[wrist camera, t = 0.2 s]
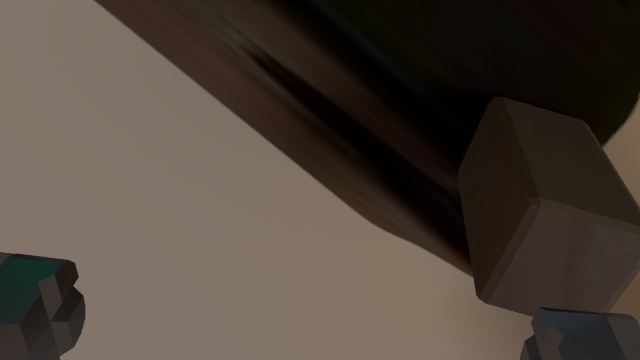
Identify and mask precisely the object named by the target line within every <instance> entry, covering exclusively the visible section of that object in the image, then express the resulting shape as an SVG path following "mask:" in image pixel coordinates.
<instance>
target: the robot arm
mask: <svg viewBox="0 0 640 360" xmlns="http://www.w3.org/2000/svg"><path fill="white" fill-rule="evenodd" d="M78 277H79V276H78V272H77V269H76V265H75V263H74V262H72V261H69V260H64V259H56V258H48V257H40V256H32V255H24V254H11V253H3V252H0V360H60V357H59V356H61V355H62V354H64V353H65V352H67V351H69V350H70V349H72V348H73V347H74V346H75V344H76V342H77V340H78V338H79V336H80V335H81V331H82V328H83V324H84V321H85V302H84V297H83V295H82V294H81V293H80V292H79V291H78V290H77V289H76V288H75V287H74V286H73V285H74V284H75V282H76V280H77V279H78ZM531 324H532V327H533V331H534V335H533V336H532V337H530V338H529V339H527V340H525V342H524V345H523V349H522V352H521V357H520V360H640V326H639V324H638V322H637V320H636V319H635V318H634V317H633V316H631V315H627V314H616V313H604V312H600V313H597V312H590V311H580V310H569V309H558V308H547V307H539V308H538V310H537V311H536V312H535V314H534V317H533V319H532V322H531Z"/></svg>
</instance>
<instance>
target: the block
mask: <svg viewBox="0 0 640 360" xmlns="http://www.w3.org/2000/svg"><path fill="white" fill-rule="evenodd" d="M458 182H459V188H460V195H461V201H462V207H463V214H464V220H465V226H466V233H467V239H468V246H469V252H470V258H471V265H472V271H473V277H474V283H475V290H476V295H477V296H478V298H479V299H480V300H482V301H483V302H485V303H486V304H490V305H494V306H498V307H501V308H505V309H508V310H511V311H515V312H518V313H522V314H525V315H529V316H532V317H534V314H535V312H536V311H537V310H538V308H539V307H547V308H558V309H569V310H580V311H590V312H597V313H600V312H604V313H609V311H610V310H611V308H612V307H613V306H614V304H615V303H616V302H617V300H618V299H619V298H620V296H621V295H622V293H623V292H624V291H625V289H626V288H627V287H628V285H629V284H630V283H631V281H632V280H633V278H634V277H635V276H636V274H637V273H638V271H639V270H640V208H639V206H638V205H637V203H636V201H635V200H634V198H633V197H632V195H631V193H630V192H629V190H628V188H627V187H626V185H625V184H624V182H623V180H622V179H621V177H620V176H619V174H618V172H617V171H616V169H615V168H614V166H613V165H612V163H611V161H610V160H609V158H608V157H607V155H606V153H605V152H604V150H603V149H602V147H601V145H600V144H599V142H598V141H597V139H596V137H595V136H594V134H593V133H592V131H591V129H590V128H589V126H588V125H587V124H586V123H585V122H584V121H583V120H580V119H577V118H573V117H570V116H566V115H563V114H560V113H556V112H553V111H549V110H546V109H542V108H539V107H536V106H532V105H529V104H525V103H522V102H519V101H515V100H512V99H508V98H505V97H494V98H493V99H492V100H491V101H490V102H489V103H488V105H487V108H486V110H485V112H484V114H483V117H482V119H481V121H480V123H479V125H478V128H477V130H476V132H475V134H474V136H473V139H472V141H471V143H470V145H469V147H468V150H467V152H466V154H465V156H464V159H463V161H462V163H461V165H460V167H459V170H458Z"/></svg>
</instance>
